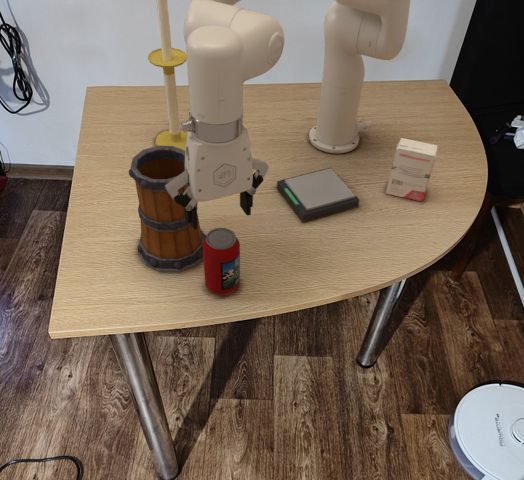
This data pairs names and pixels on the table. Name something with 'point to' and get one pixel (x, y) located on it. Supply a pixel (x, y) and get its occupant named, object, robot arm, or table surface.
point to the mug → (164, 212)
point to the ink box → (411, 169)
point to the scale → (317, 194)
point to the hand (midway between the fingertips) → (219, 217)
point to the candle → (169, 79)
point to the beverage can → (221, 261)
